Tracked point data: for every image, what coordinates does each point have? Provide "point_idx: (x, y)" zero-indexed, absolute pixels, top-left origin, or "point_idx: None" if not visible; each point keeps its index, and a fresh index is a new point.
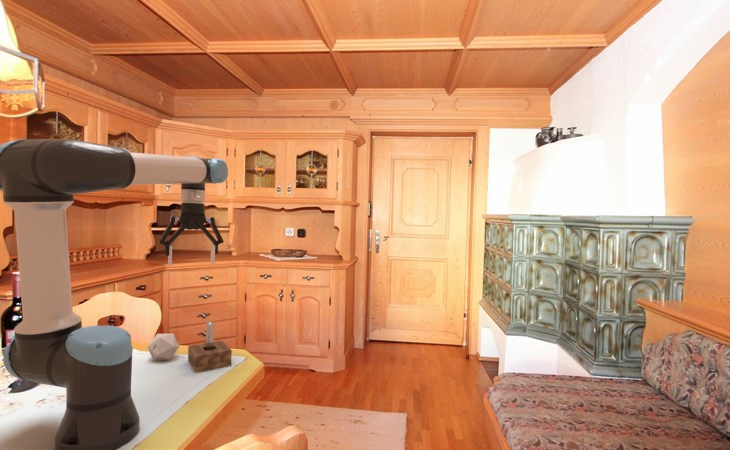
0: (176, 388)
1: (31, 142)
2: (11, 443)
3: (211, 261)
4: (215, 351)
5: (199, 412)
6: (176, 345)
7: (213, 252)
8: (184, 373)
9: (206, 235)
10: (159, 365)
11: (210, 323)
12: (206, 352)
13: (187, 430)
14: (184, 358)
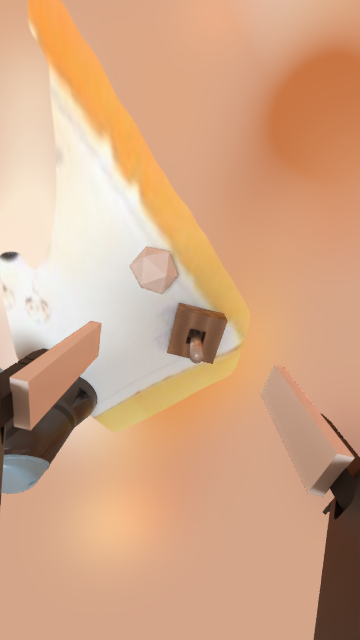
0: (139, 364)
1: None
2: None
3: (271, 384)
4: None
5: (138, 412)
6: (169, 284)
7: (288, 442)
8: (159, 336)
9: (345, 593)
10: (145, 291)
11: (194, 362)
12: (184, 349)
13: (123, 425)
14: (179, 290)
